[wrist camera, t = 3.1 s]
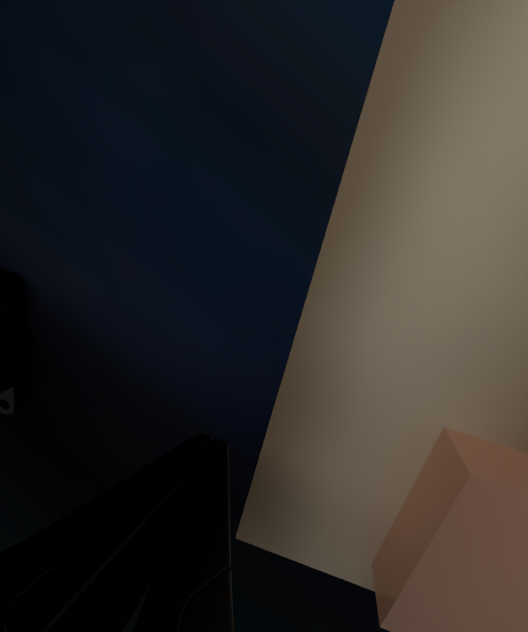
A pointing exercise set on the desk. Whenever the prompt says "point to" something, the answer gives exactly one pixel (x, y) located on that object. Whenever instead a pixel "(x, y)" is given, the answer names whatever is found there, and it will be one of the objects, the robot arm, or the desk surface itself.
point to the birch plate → (407, 291)
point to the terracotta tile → (459, 543)
